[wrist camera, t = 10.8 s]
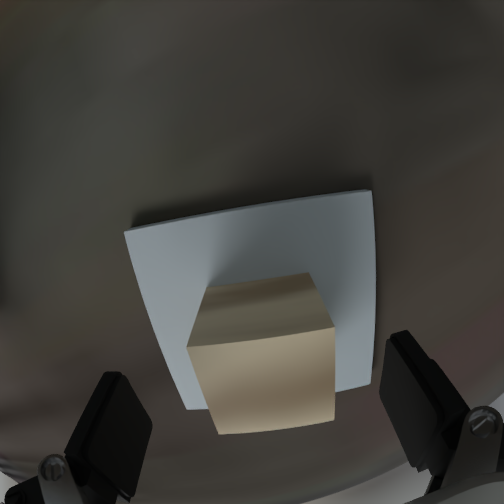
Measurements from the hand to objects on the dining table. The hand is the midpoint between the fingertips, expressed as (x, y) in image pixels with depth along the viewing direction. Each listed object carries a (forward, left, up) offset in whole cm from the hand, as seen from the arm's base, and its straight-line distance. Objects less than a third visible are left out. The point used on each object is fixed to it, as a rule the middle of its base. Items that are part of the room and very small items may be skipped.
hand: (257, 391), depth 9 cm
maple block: (+1, 0, -6) cm, 6 cm away
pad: (+1, 0, -6) cm, 6 cm away
